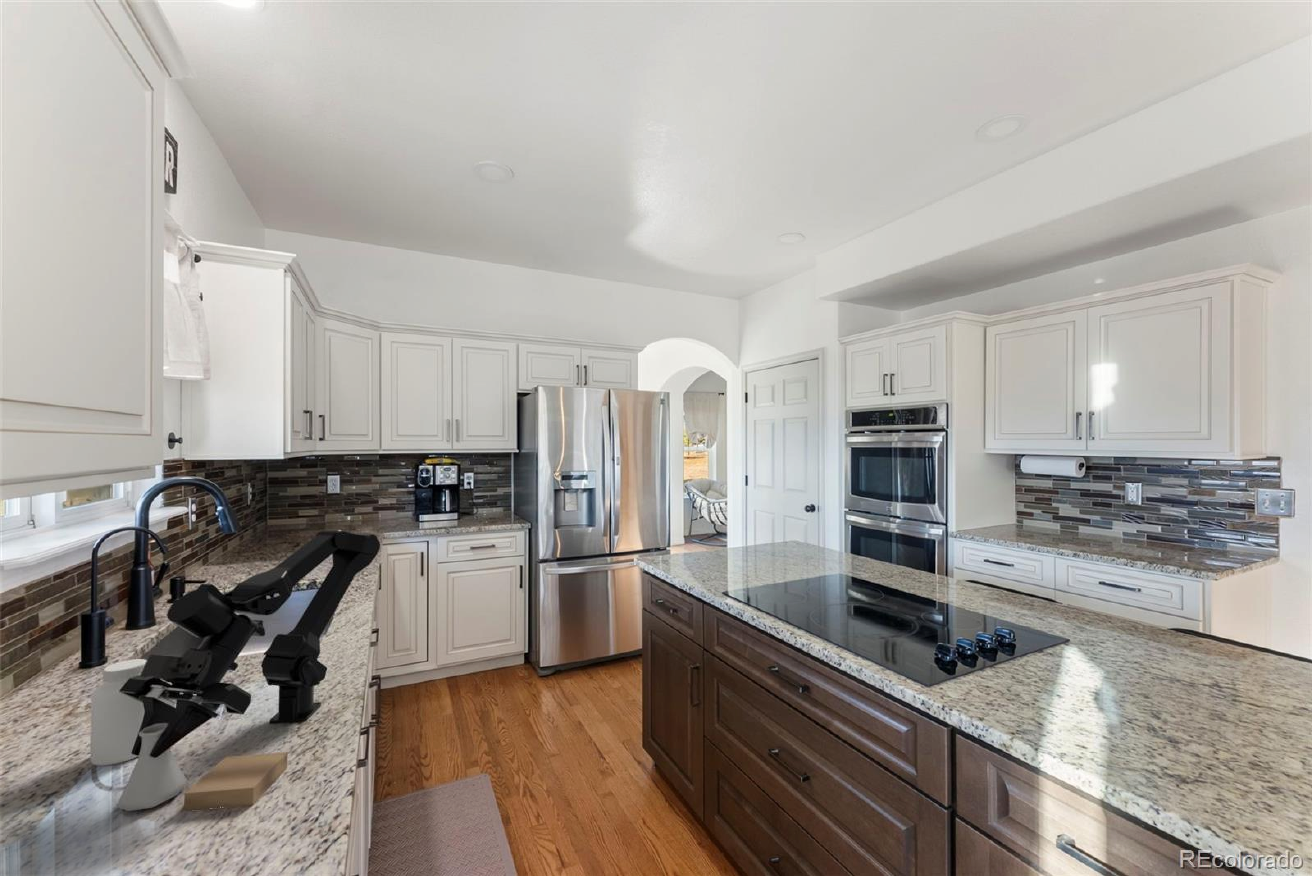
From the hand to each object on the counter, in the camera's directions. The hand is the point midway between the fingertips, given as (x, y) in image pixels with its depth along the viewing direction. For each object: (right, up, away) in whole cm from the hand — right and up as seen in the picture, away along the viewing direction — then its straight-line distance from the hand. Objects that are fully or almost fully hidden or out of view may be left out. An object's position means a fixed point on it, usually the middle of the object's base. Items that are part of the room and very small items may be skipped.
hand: (143, 756), depth 76 cm
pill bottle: (-16, -8, +13) cm, 22 cm away
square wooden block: (+11, -8, +4) cm, 14 cm away
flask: (0, -7, +1) cm, 7 cm away
